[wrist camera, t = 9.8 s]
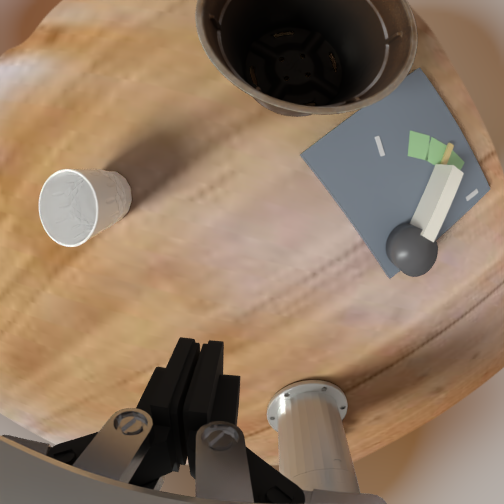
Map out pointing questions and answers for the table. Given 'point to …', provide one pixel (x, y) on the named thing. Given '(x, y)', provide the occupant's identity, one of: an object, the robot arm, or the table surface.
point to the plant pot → (310, 50)
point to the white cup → (82, 204)
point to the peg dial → (425, 221)
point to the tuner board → (394, 162)
